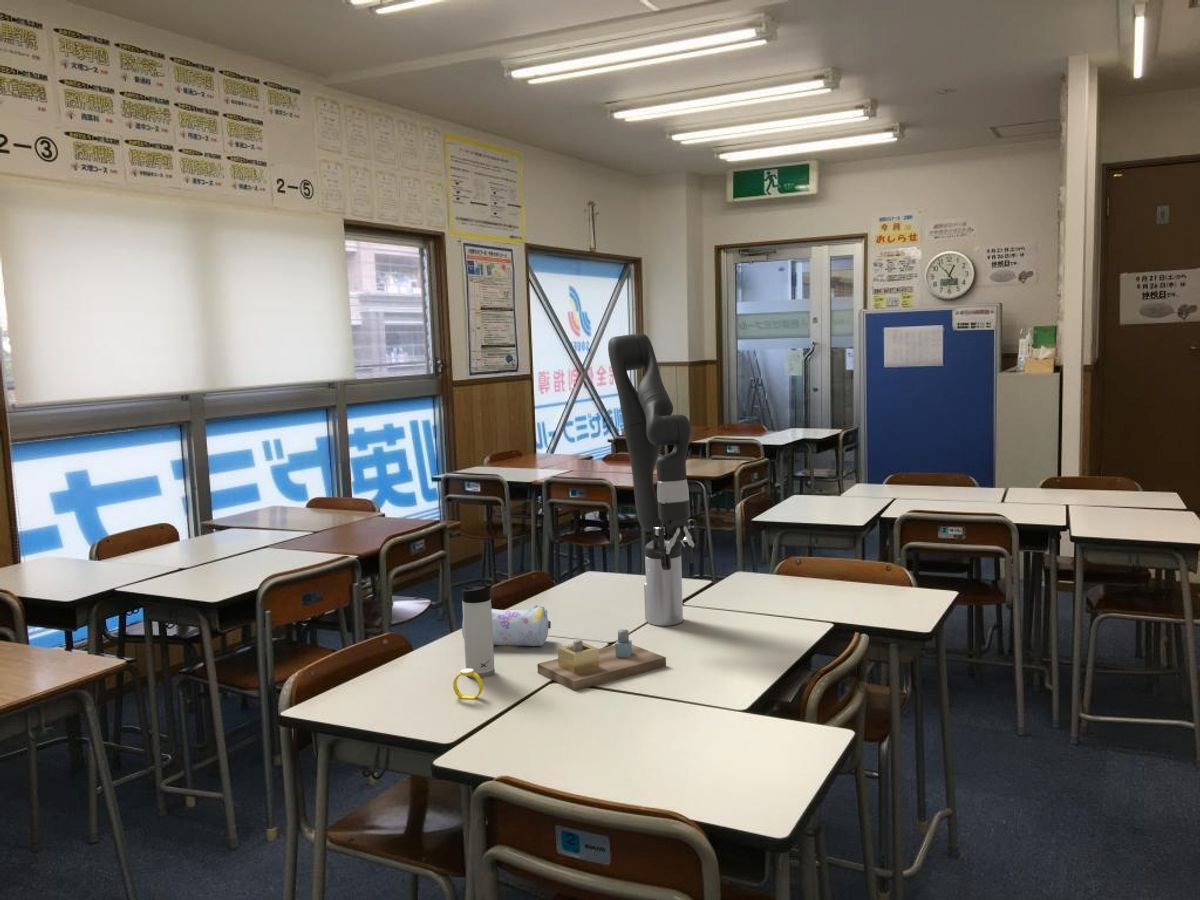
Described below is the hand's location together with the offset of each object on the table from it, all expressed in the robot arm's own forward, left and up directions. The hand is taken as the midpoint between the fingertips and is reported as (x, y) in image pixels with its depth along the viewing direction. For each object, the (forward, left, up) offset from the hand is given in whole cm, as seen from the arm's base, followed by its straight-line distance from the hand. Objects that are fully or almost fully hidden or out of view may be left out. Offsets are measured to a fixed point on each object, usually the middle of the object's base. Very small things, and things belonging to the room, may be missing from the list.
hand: (677, 566), depth 229 cm
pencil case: (-25, -34, -18) cm, 46 cm away
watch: (+3, -58, -18) cm, 61 cm away
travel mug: (-9, -49, -18) cm, 53 cm away
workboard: (+6, -27, -18) cm, 33 cm away
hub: (+6, -21, -16) cm, 27 cm away
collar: (+6, -33, -16) cm, 37 cm away
